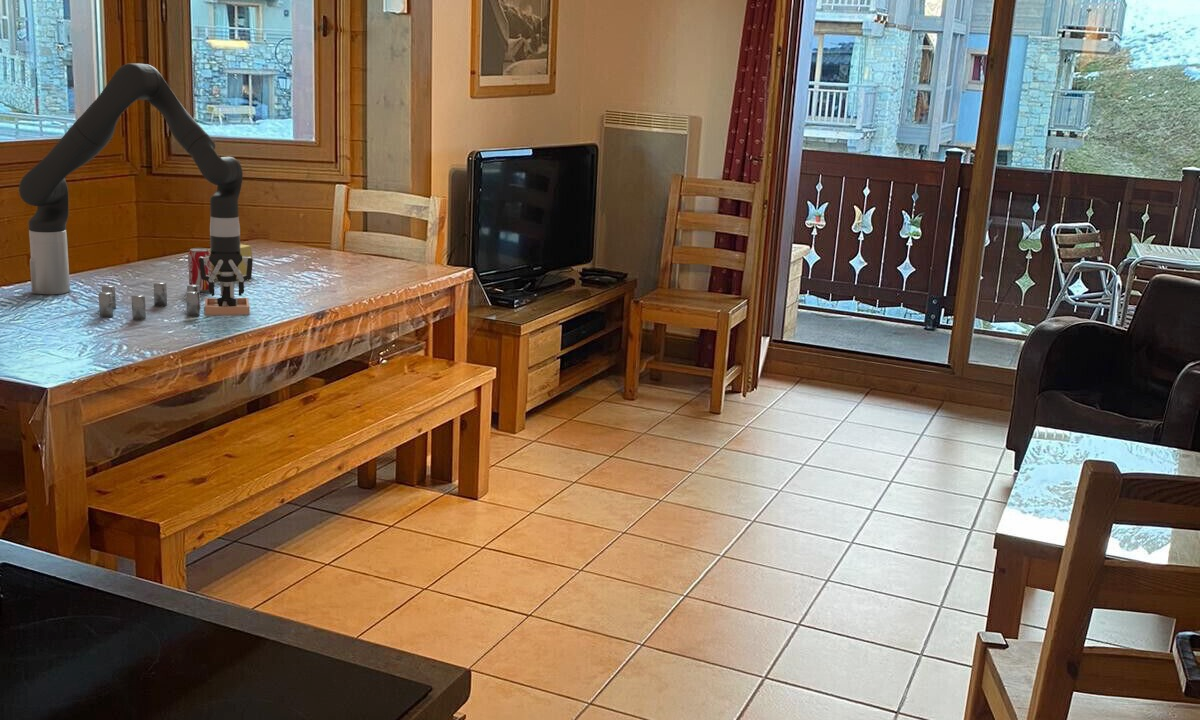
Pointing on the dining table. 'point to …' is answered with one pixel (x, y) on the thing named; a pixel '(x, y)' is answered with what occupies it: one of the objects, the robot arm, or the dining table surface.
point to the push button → (226, 289)
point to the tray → (226, 307)
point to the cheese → (245, 252)
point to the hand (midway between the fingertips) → (226, 295)
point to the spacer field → (138, 301)
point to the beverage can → (198, 268)
